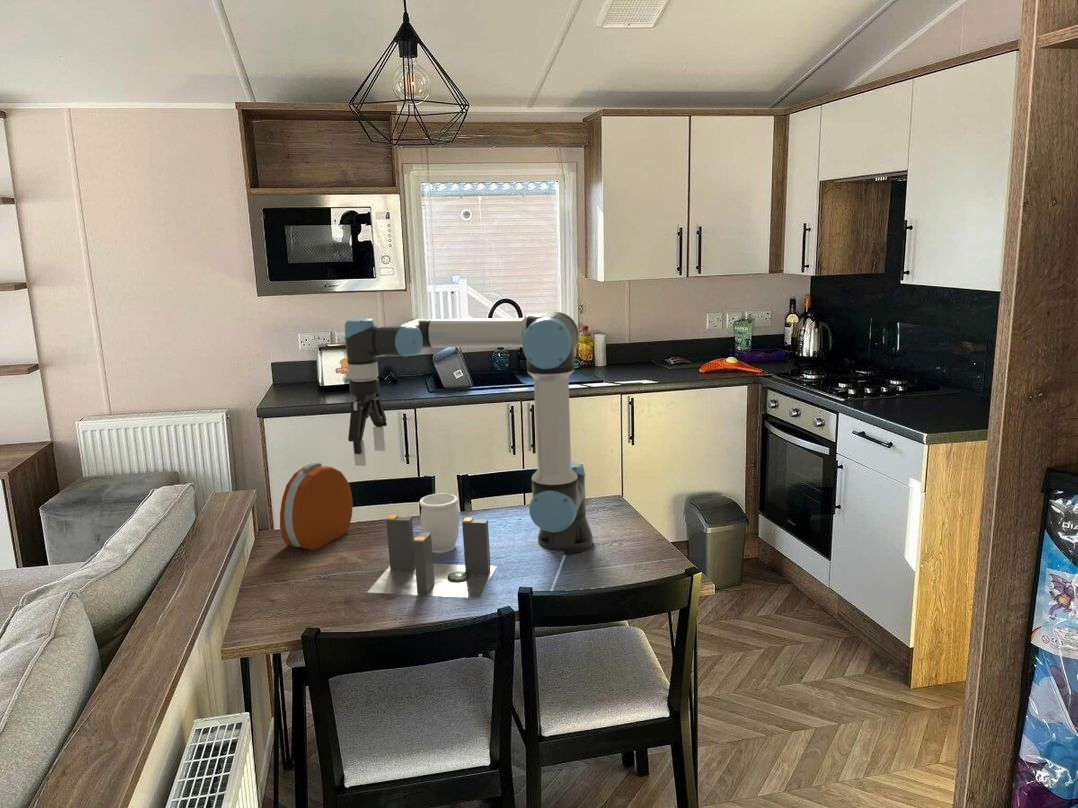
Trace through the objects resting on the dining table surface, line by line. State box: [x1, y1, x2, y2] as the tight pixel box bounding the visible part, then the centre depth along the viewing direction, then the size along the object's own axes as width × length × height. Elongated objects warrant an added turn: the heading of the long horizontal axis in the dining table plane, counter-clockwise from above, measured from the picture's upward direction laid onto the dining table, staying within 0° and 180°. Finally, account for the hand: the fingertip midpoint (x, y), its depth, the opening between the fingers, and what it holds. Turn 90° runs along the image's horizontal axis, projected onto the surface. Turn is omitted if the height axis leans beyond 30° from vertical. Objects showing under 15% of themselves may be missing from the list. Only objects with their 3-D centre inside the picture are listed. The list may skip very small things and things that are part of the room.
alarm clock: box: [279, 462, 354, 551], centre depth 234 cm, size 22×10×23 cm, turn 153°
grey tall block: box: [385, 514, 415, 570], centre depth 210 cm, size 6×2×14 cm, turn 79°
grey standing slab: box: [413, 531, 435, 596], centre depth 197 cm, size 6×2×14 cm, turn 170°
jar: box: [419, 492, 460, 554], centre depth 223 cm, size 11×10×15 cm
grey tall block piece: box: [461, 516, 491, 573], centre depth 206 cm, size 6×2×14 cm, turn 79°
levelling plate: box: [367, 563, 497, 599], centre depth 204 cm, size 28×18×2 cm, turn 79°
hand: (370, 457), depth 216 cm, fingers open, 13 cm apart
